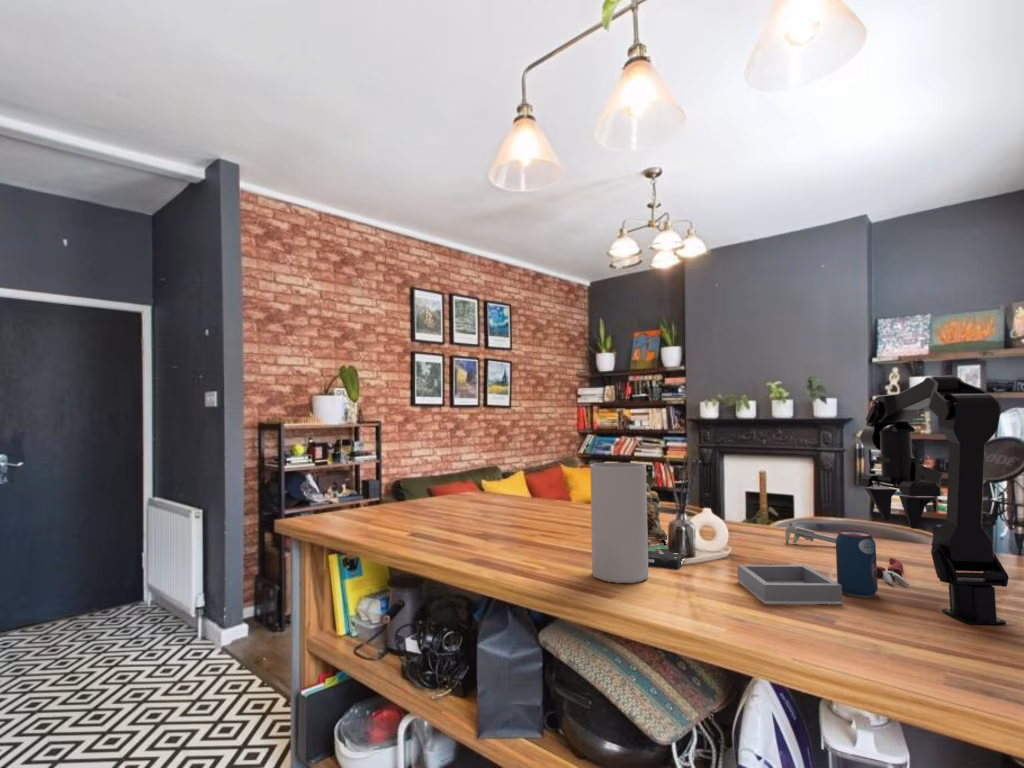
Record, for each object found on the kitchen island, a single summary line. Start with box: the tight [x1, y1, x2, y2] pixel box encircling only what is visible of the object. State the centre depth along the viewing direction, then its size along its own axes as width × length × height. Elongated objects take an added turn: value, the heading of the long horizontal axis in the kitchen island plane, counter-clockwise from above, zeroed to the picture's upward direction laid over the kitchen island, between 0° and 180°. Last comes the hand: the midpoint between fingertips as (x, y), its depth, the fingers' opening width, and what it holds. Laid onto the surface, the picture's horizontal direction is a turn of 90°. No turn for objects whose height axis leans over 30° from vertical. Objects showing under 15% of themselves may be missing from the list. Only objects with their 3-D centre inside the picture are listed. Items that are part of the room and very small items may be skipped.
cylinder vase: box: [589, 462, 650, 584], centre depth 126 cm, size 12×12×25 cm
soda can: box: [835, 529, 879, 598], centre depth 113 cm, size 7×7×12 cm
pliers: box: [877, 557, 910, 587], centre depth 125 cm, size 12×20×3 cm, turn 163°
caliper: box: [784, 521, 837, 544], centre depth 153 cm, size 20×1×6 cm, turn 69°
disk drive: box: [648, 544, 684, 570], centre depth 140 cm, size 10×3×15 cm
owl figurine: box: [646, 482, 668, 541], centre depth 160 cm, size 18×12×17 cm, turn 157°
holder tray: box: [737, 564, 843, 606], centre depth 113 cm, size 14×14×4 cm
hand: (899, 524), depth 121 cm, fingers open, 9 cm apart
